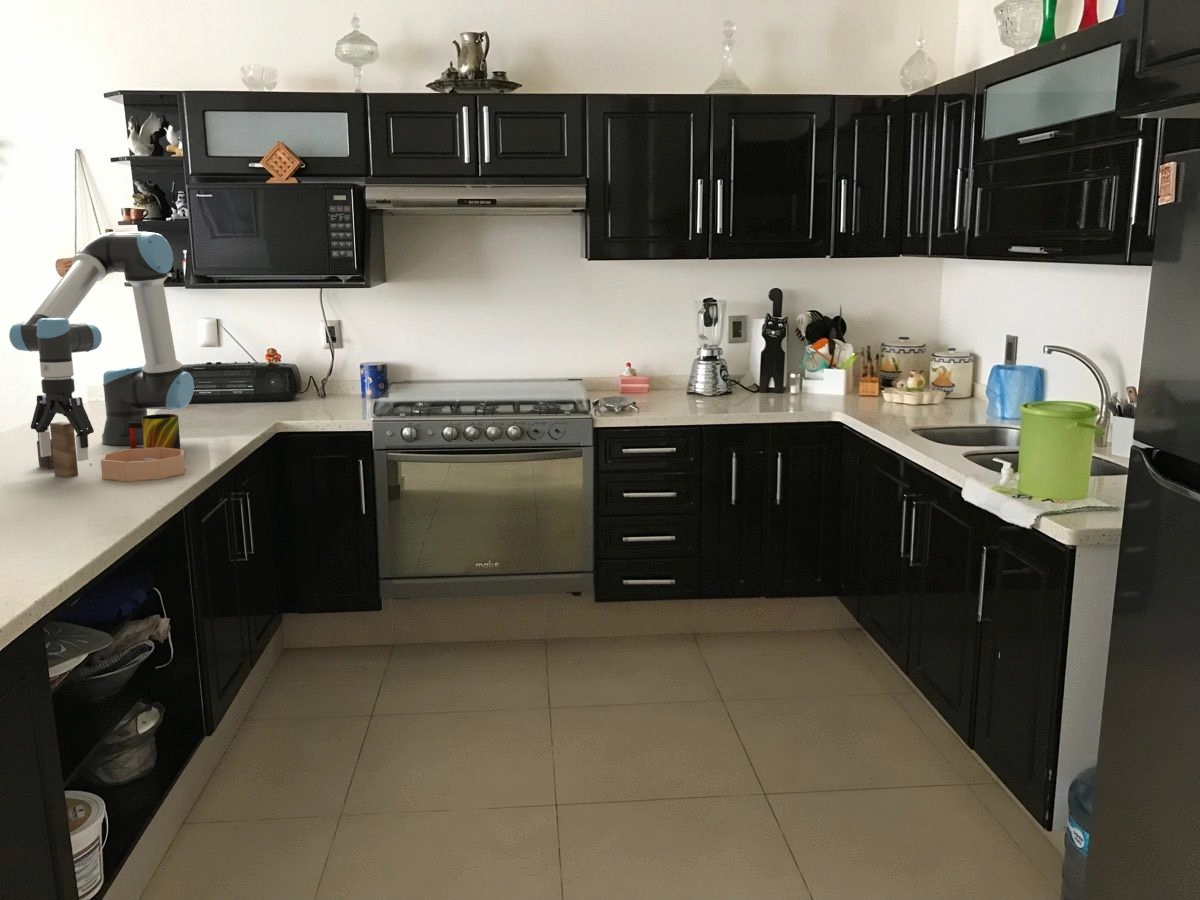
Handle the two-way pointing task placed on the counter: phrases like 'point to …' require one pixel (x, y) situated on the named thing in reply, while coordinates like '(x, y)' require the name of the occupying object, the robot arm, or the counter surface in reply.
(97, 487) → the counter surface
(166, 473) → the octagonal terracotta bowl
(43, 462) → the box
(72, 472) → the wooden rectangular block
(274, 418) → the counter surface
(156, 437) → the mug
